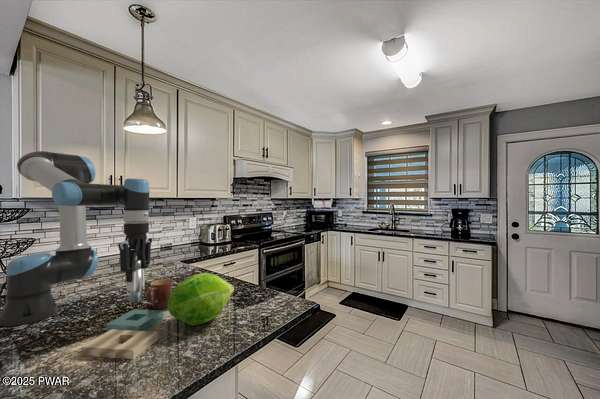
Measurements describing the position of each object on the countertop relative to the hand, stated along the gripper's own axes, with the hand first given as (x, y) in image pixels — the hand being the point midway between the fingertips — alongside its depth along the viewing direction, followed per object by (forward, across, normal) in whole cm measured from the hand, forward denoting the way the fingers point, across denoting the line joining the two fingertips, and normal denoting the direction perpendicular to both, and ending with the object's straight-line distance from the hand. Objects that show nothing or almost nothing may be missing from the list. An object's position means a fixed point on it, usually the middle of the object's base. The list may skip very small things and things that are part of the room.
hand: (135, 288), depth 90 cm
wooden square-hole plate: (+13, -13, -6) cm, 20 cm away
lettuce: (+13, +6, -22) cm, 27 cm away
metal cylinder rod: (+4, 0, 0) cm, 4 cm away
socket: (+13, 0, 0) cm, 13 cm away
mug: (+13, +15, +2) cm, 20 cm away
